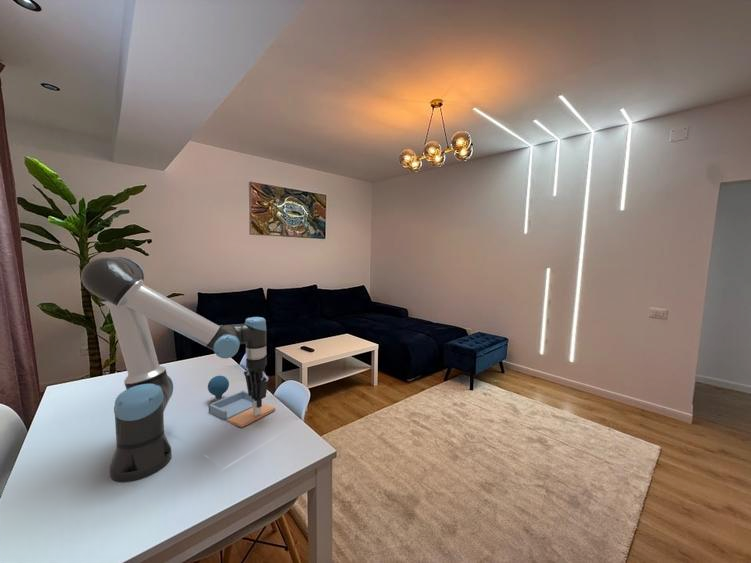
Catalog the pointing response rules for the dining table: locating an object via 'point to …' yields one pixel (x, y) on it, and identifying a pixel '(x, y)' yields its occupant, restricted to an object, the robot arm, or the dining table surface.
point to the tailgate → (249, 416)
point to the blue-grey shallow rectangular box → (231, 405)
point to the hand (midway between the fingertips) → (257, 414)
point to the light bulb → (218, 386)
